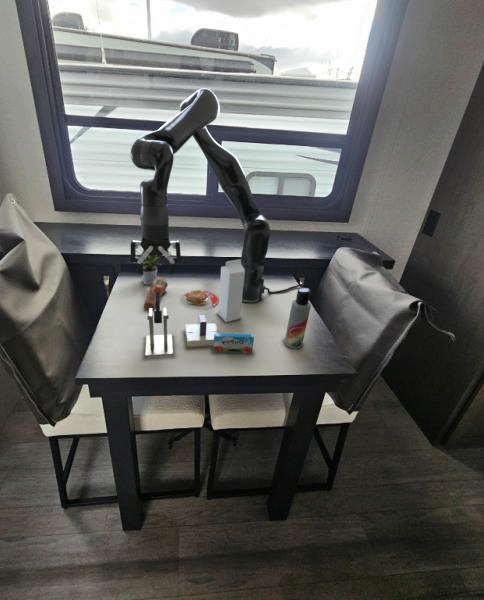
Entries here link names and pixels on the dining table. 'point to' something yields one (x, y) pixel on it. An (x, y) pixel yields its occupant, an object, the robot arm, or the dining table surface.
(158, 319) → the red ball lever
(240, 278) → the milk
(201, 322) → the black red-tipped box
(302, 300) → the lotion bottle
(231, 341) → the blue flat cardboard box
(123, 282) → the dining table surface
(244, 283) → the robot arm
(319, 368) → the dining table surface
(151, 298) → the bread
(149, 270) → the house plant
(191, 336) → the panel
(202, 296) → the hamburger
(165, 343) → the lever bracket
